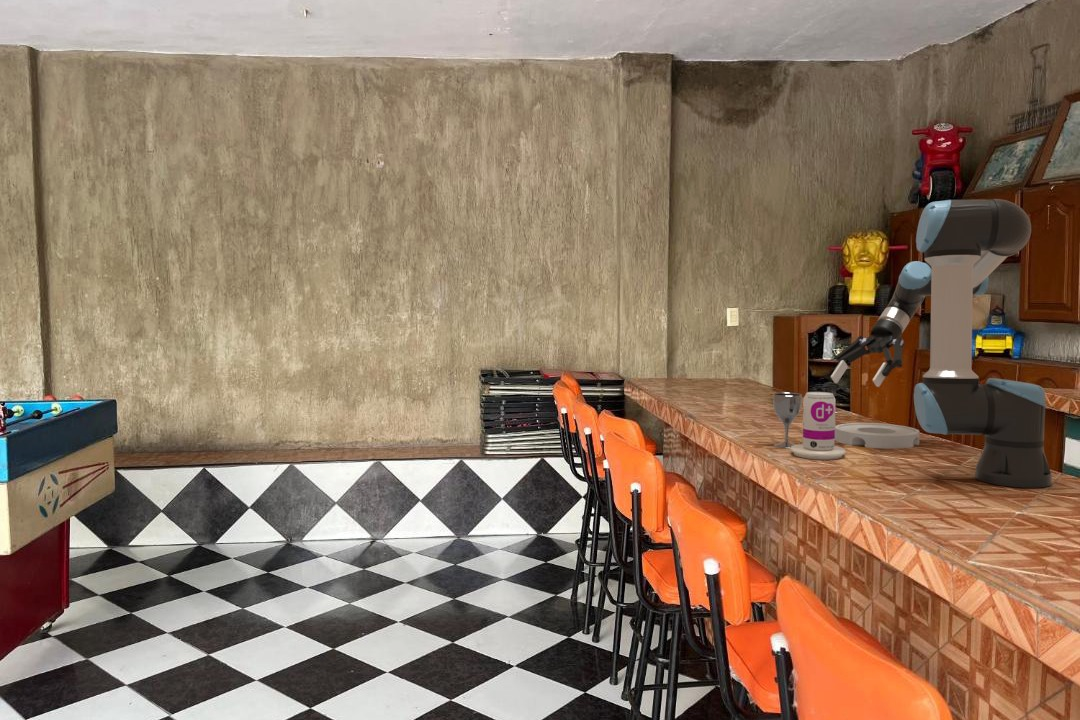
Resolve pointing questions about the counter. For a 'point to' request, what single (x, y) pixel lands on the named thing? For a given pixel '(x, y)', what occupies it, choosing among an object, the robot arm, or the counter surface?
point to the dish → (818, 453)
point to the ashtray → (877, 435)
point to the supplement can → (819, 421)
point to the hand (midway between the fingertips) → (854, 381)
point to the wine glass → (786, 411)
